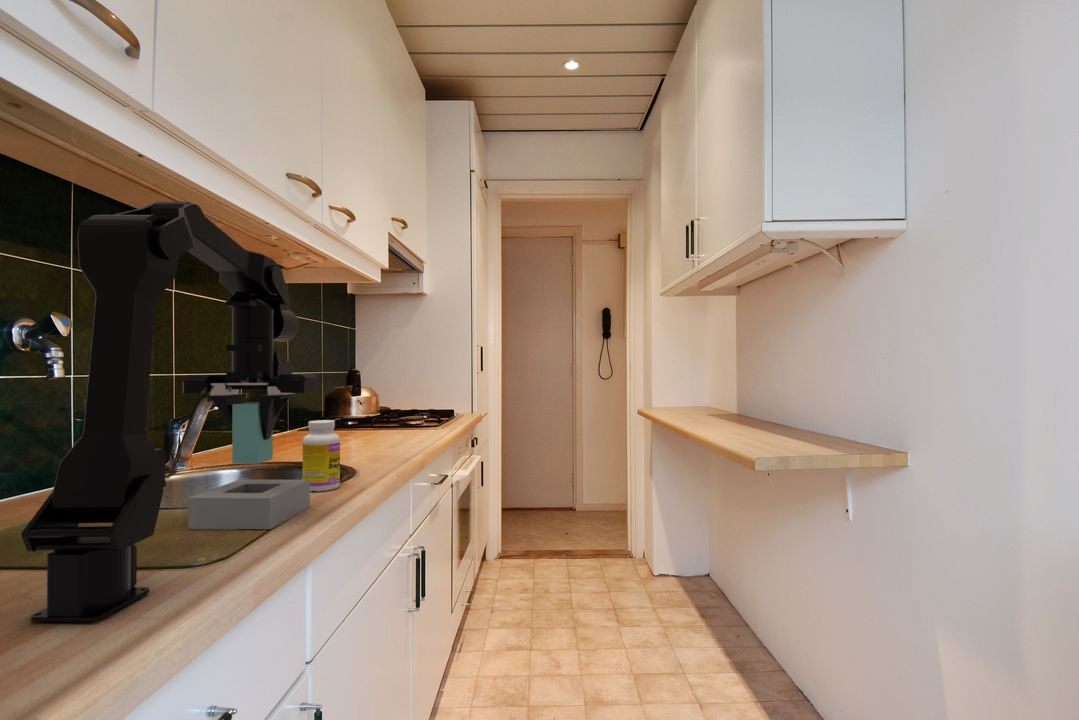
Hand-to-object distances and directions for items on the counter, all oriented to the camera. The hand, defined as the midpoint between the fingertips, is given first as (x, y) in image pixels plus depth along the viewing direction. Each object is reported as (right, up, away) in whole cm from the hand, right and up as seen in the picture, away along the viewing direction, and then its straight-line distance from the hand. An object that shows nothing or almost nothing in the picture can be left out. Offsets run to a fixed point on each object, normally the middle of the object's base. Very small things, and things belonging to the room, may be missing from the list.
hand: (252, 439), depth 81 cm
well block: (0, -12, 0) cm, 12 cm away
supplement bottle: (+3, -13, +19) cm, 23 cm away
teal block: (0, -3, 0) cm, 3 cm away
